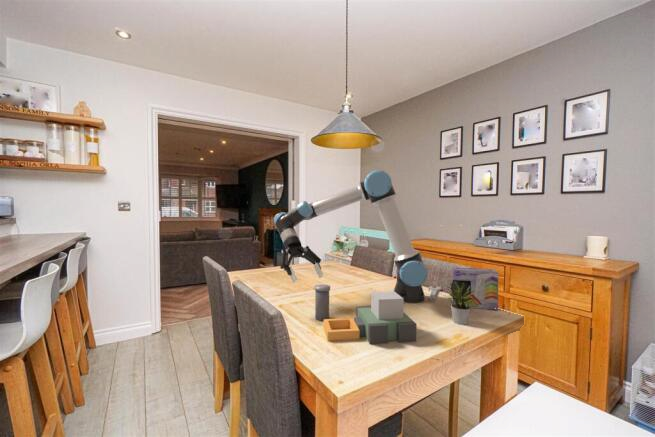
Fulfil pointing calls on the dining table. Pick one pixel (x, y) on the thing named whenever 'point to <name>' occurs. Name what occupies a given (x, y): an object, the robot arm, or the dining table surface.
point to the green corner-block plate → (375, 321)
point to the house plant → (460, 305)
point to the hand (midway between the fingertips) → (308, 278)
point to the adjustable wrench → (433, 293)
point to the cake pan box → (477, 286)
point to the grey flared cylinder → (321, 302)
